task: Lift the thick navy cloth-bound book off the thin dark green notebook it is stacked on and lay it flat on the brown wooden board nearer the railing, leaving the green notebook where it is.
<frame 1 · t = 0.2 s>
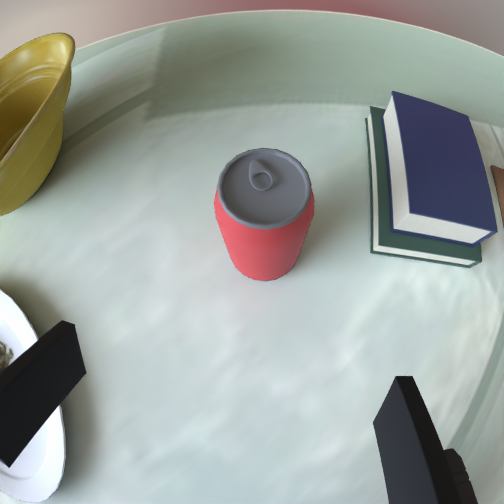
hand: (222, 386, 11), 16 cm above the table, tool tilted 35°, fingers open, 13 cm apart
green notebook: (419, 187, 30), on the table, touching navy book
beer can: (264, 249, 29), on the table
navy book: (428, 176, 28), point 2 cm above the table, touching green notebook
planter bowl: (25, 168, 34), on the table
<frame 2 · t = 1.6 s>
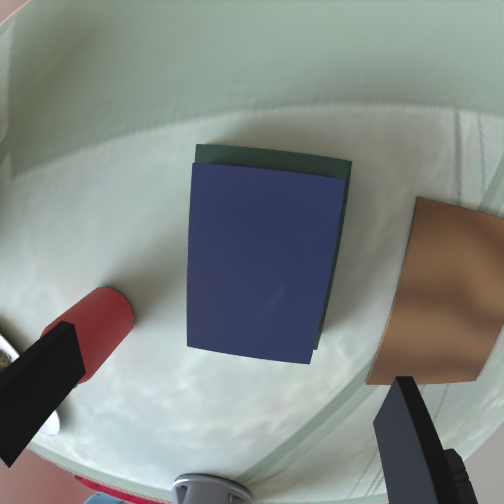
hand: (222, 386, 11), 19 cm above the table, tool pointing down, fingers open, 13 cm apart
plated food: (12, 377, 43), on the table
green notebook: (264, 247, 28), on the table, touching navy book
beer can: (113, 309, 33), on the table
brown wooden board: (458, 307, 28), on the table
navy book: (262, 255, 26), point 2 cm above the table, touching green notebook
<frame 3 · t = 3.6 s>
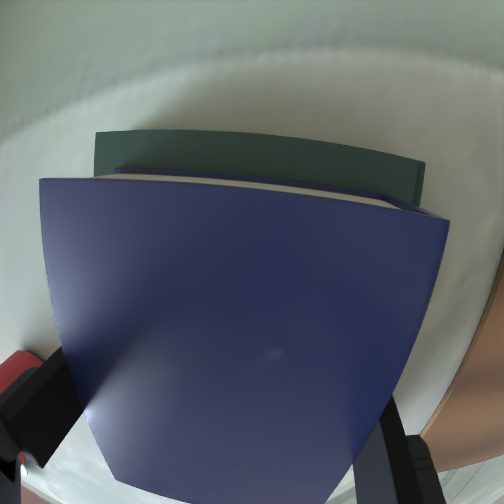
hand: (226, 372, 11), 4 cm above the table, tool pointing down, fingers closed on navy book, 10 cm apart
green notebook: (240, 324, 15), on the table, touching navy book
beer can: (43, 377, 20), on the table
navy book: (231, 353, 13), point 3 cm above the table, touching green notebook, gripper
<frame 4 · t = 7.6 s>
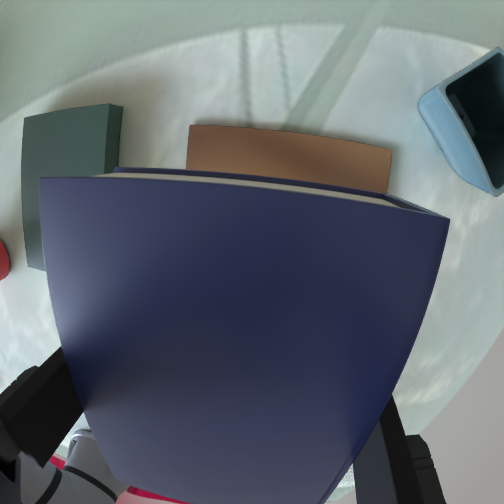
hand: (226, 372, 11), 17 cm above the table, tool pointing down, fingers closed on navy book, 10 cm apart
green notebook: (70, 192, 28), on the table
beer can: (0, 256, 33), on the table
brown wooden board: (277, 254, 28), on the table
navy book: (231, 352, 13), point 16 cm above the table, touching gripper
flower pot: (448, 124, 22), on the table
when the fingers open (2 cm above the table, at t = 11.6 s): navy book stays where it is, resting on brown wooden board.
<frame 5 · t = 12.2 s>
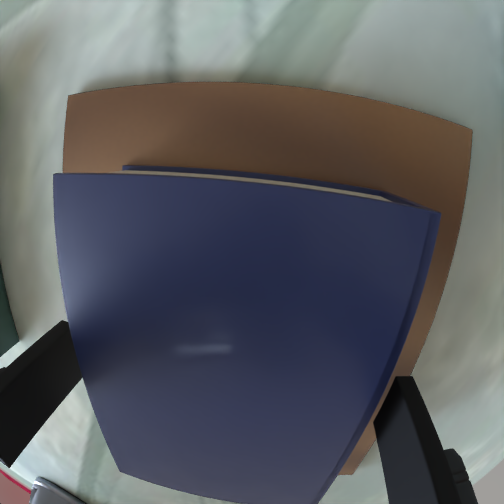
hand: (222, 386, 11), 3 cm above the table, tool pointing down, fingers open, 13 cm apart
brown wooden board: (237, 339, 14), on the table
navy book: (235, 344, 13), resting on brown wooden board
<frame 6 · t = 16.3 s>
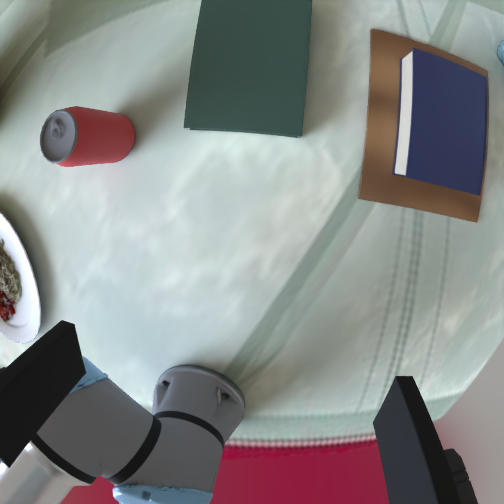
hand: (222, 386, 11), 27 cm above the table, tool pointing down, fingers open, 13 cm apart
plated food: (0, 274, 45), on the table
green notebook: (251, 61, 30), on the table
beer can: (117, 138, 35), on the table
brown wooden board: (433, 124, 29), on the table
navy book: (435, 124, 29), resting on brown wooden board
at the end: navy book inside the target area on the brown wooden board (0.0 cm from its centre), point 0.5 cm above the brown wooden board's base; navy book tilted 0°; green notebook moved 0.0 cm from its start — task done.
